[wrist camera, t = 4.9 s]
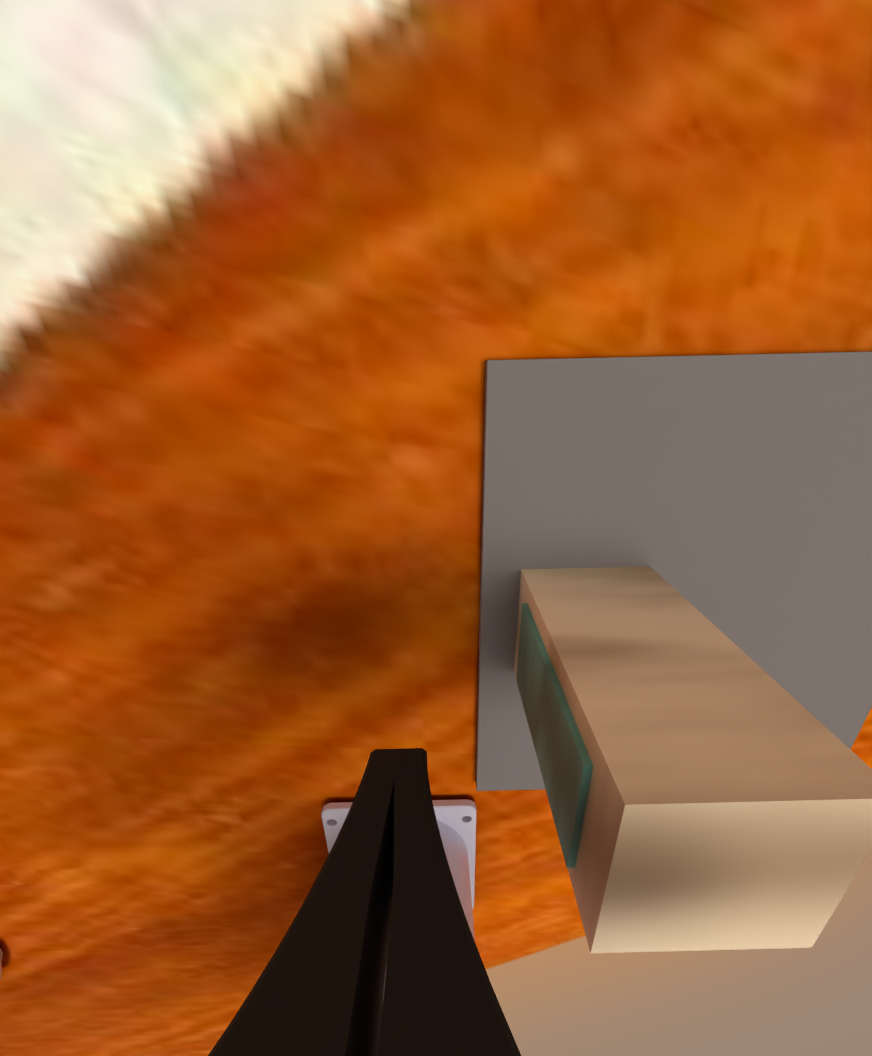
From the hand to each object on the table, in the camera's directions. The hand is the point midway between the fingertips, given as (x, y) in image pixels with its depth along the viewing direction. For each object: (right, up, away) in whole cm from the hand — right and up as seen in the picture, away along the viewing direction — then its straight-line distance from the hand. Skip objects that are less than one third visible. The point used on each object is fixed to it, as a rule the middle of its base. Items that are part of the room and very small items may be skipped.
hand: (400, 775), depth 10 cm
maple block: (+7, +3, +6) cm, 9 cm away
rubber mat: (+12, +3, +7) cm, 14 cm away
